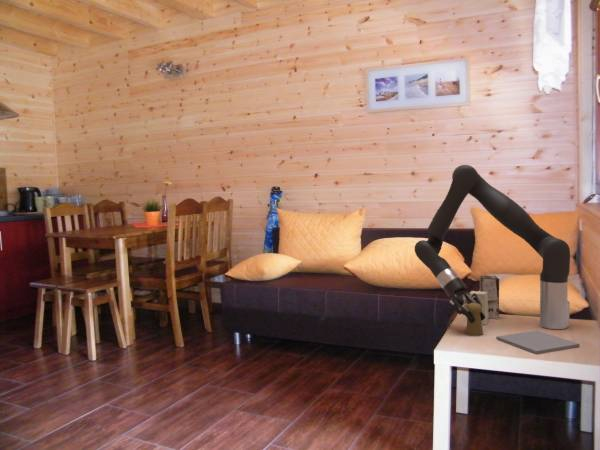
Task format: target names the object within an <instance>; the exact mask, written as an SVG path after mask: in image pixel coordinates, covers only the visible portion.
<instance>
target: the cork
mask: <svg viewBox="0 0 600 450" xmlns="http://www.w3.org/2000/svg"><path fill="white" fill-rule="evenodd" d="M468 309H469V312H471V313H472V315H473V316H474V318H475V319H476V321H475V322H474V323H470V321H469V320H468V319H467V318H466V319H467V320H466V326H465V334H466V335H467V336H473V337H480V336H483V335H484V331H483V325H482V323H481V316H480V313H481V311H482V307H481V305H480V304H477V303H470V304H468Z"/></svg>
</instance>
